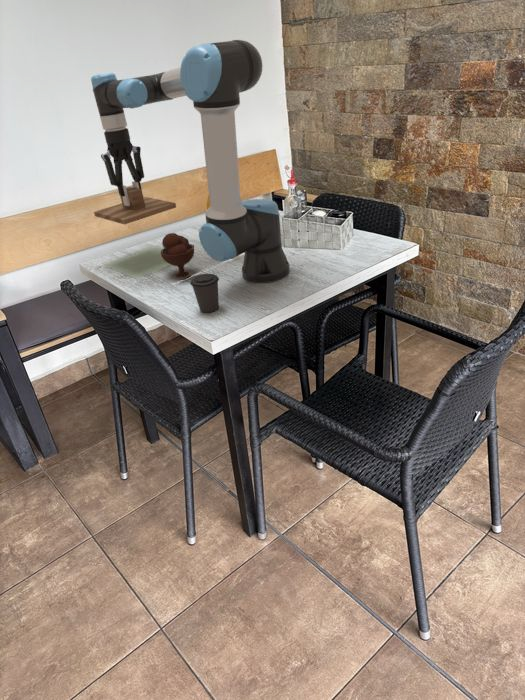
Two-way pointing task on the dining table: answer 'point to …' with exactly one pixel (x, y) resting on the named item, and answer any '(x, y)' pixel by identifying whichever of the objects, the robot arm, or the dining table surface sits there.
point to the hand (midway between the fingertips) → (133, 203)
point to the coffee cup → (206, 292)
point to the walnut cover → (134, 208)
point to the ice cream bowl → (177, 252)
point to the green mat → (140, 263)
